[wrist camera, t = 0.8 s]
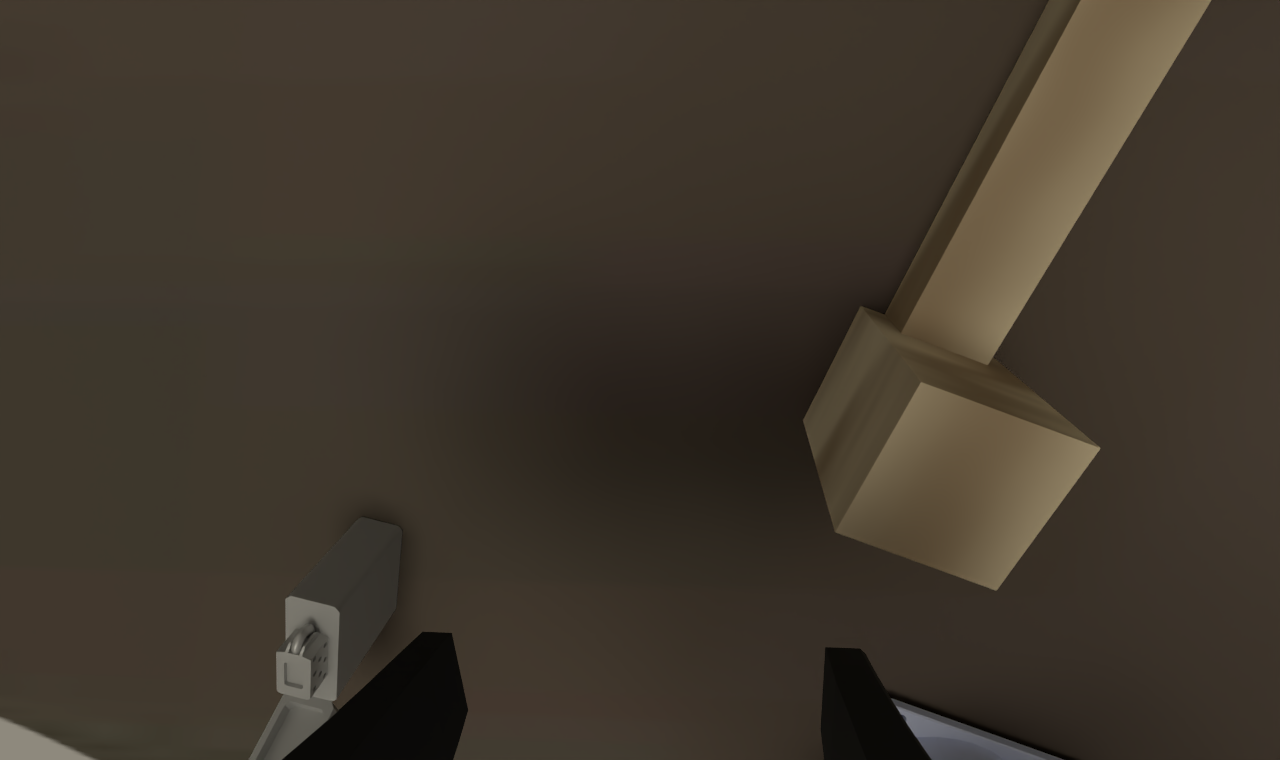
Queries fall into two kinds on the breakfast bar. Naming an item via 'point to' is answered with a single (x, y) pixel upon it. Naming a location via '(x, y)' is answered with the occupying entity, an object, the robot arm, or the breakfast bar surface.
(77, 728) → the breakfast bar surface
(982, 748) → the robot arm
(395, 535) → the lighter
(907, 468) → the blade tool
